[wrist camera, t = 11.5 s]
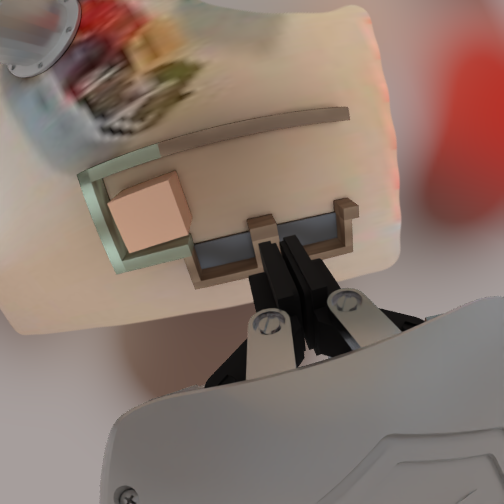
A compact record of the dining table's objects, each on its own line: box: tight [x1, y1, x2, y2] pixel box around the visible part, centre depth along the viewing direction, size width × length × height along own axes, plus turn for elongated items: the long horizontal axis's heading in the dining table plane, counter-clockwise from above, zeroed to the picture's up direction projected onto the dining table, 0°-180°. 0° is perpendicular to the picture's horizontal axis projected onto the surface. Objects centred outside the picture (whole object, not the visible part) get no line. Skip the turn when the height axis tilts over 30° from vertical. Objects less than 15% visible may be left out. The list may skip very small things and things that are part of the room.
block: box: [107, 171, 192, 253], centre depth 29 cm, size 6×7×5 cm
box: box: [77, 107, 359, 290], centre depth 30 cm, size 18×30×3 cm, turn 102°
